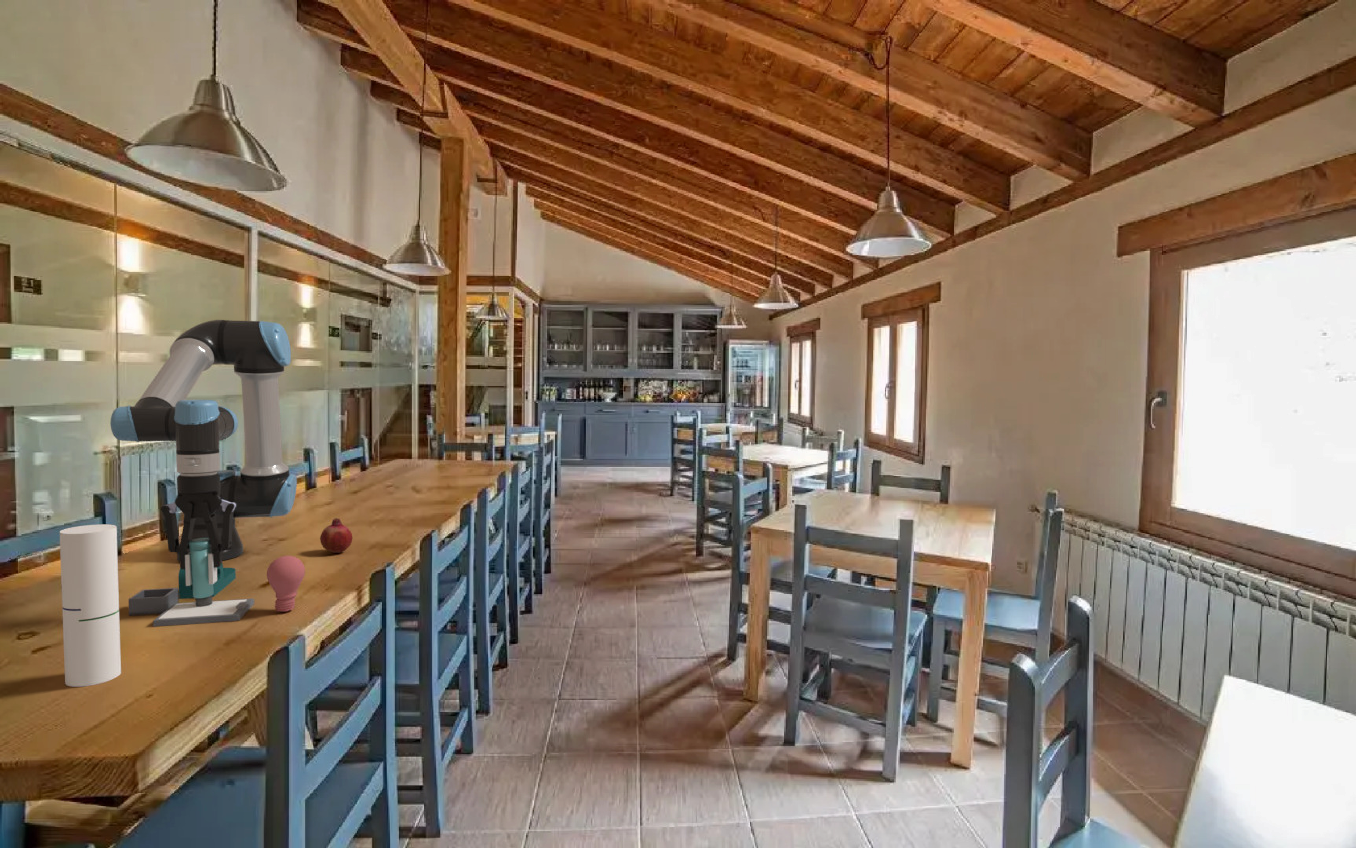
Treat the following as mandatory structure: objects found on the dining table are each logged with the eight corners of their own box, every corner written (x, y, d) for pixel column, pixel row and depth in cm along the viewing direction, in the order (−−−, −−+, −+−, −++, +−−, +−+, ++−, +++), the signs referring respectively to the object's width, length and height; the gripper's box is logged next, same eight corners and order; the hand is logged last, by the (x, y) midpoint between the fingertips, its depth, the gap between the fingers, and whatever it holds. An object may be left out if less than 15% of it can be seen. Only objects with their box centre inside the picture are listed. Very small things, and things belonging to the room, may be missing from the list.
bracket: (213, 597, 159) (212, 563, 158) (179, 599, 157) (178, 565, 156) (239, 575, 176) (238, 544, 176) (208, 577, 174) (208, 546, 174)
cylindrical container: (86, 668, 120) (81, 524, 118) (131, 668, 120) (126, 524, 119) (53, 687, 113) (47, 533, 111) (100, 686, 113) (95, 534, 112)
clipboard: (175, 608, 150) (174, 600, 150) (254, 603, 155) (254, 595, 155) (153, 626, 140) (152, 617, 140) (238, 620, 144) (238, 612, 144)
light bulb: (313, 608, 153) (312, 554, 152) (285, 618, 146) (284, 562, 145) (288, 604, 155) (287, 550, 154) (259, 614, 148) (258, 558, 147)
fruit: (347, 548, 205) (346, 514, 204) (356, 553, 199) (356, 519, 198) (317, 552, 199) (316, 517, 199) (325, 558, 193) (325, 522, 193)
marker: (197, 601, 151) (193, 538, 149) (217, 599, 152) (213, 537, 150) (190, 608, 147) (186, 544, 145) (211, 606, 148) (207, 543, 146)
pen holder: (143, 605, 152) (142, 589, 152) (178, 603, 154) (178, 587, 154) (128, 615, 146) (128, 599, 145) (166, 613, 148) (165, 597, 147)
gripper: (144, 476, 141) (148, 591, 143) (238, 475, 146) (240, 585, 147) (159, 471, 148) (163, 581, 150) (248, 470, 153) (251, 575, 155)
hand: (201, 583), depth 149 cm, fingers closed on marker, 3 cm apart
